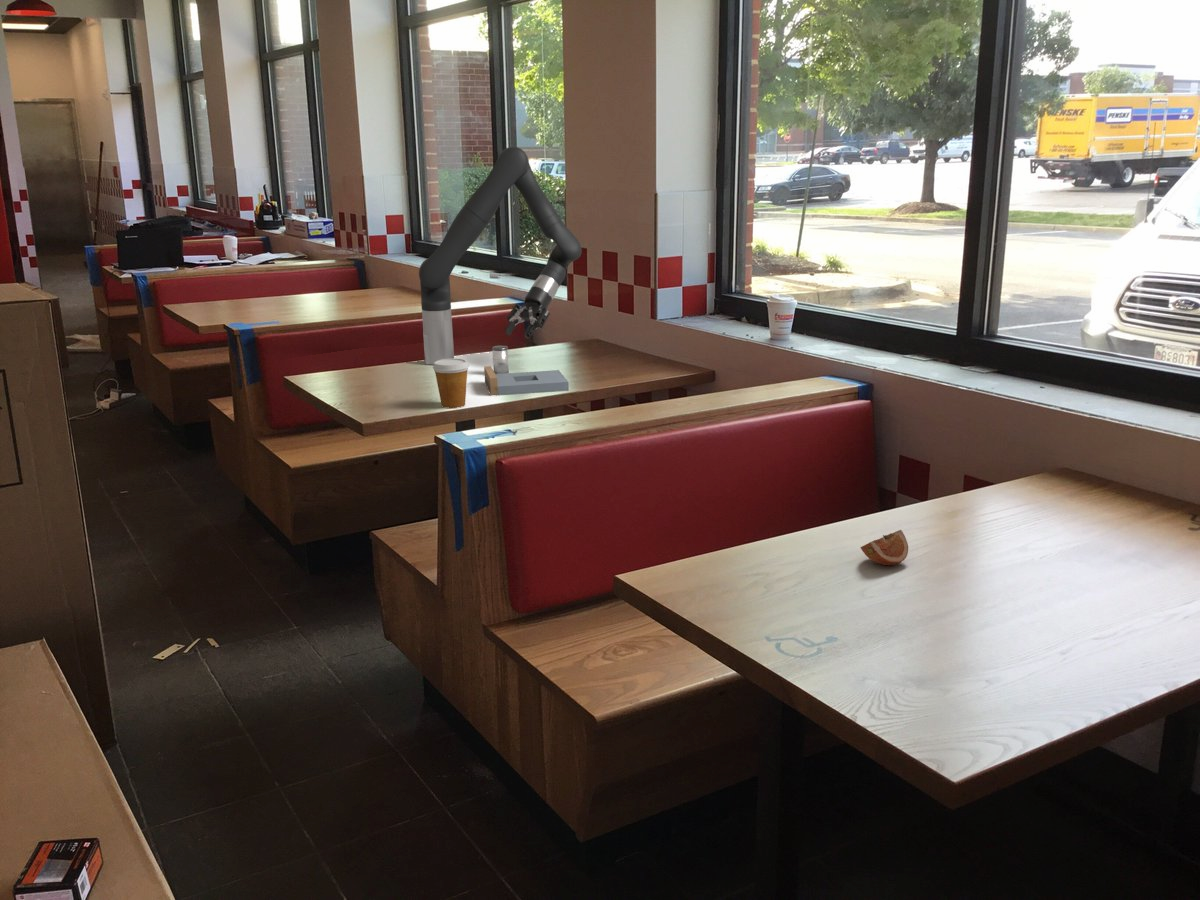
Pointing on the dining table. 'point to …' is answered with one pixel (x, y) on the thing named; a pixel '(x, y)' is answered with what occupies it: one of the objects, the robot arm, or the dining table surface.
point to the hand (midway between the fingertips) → (516, 335)
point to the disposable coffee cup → (451, 381)
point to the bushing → (500, 359)
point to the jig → (524, 382)
